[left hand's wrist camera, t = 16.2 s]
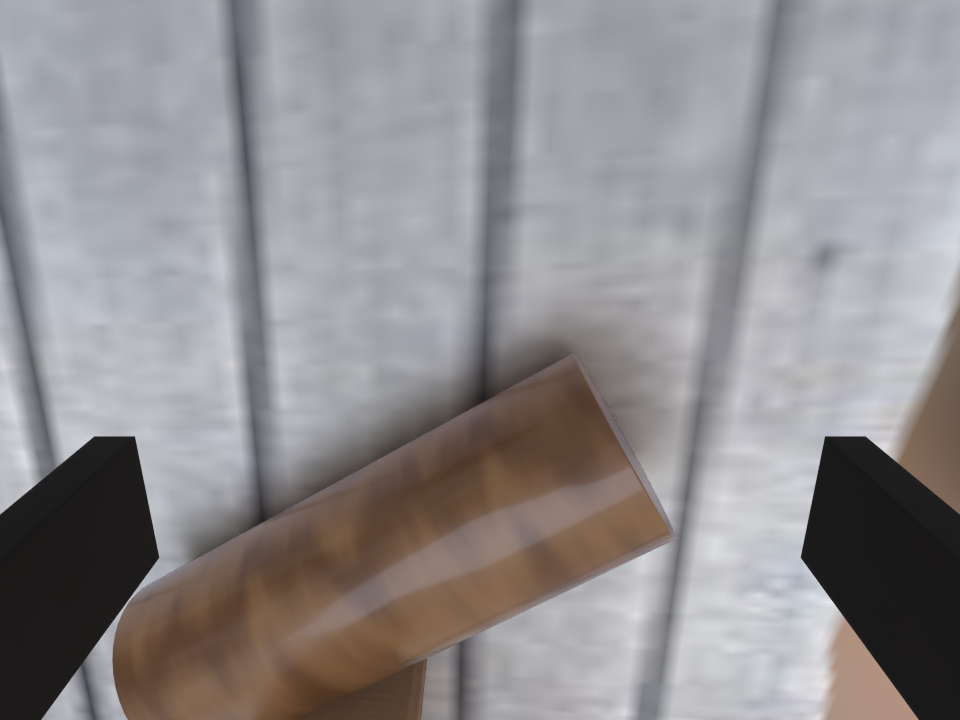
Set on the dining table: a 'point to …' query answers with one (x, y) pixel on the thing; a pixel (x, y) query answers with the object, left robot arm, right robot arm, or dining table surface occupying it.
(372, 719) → the decorative block
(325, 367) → the dining table surface
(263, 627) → the rod
